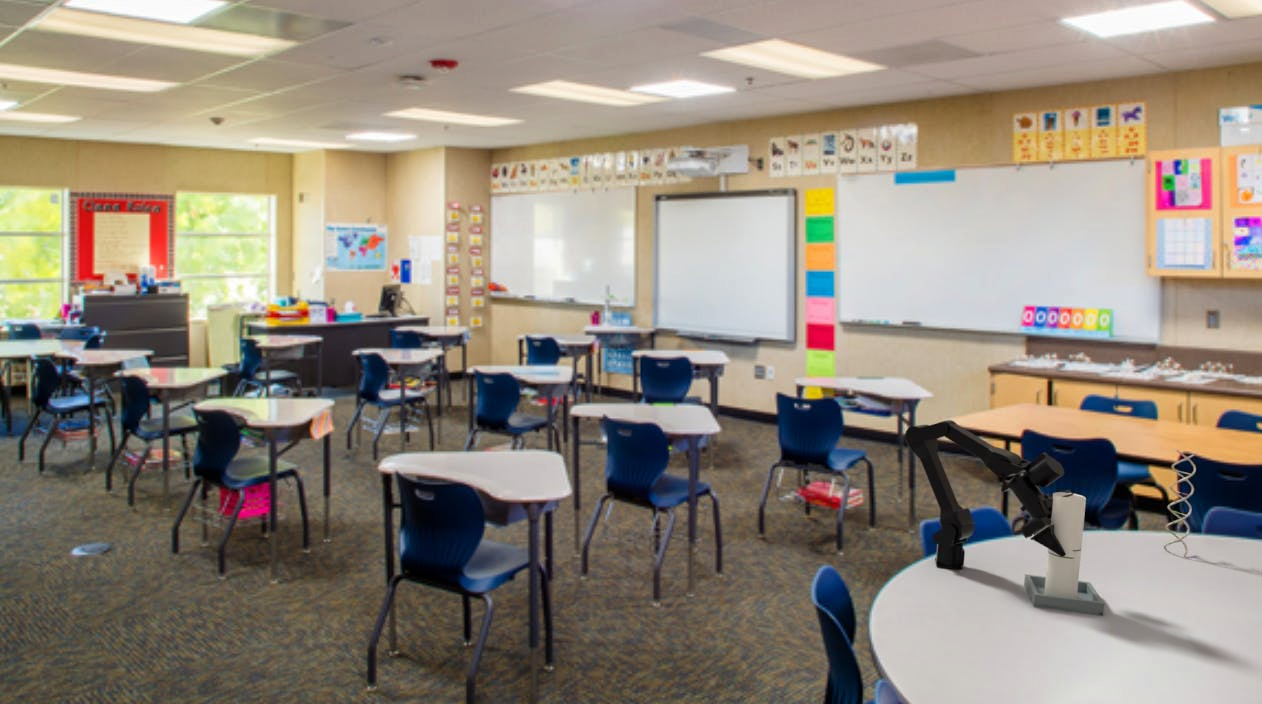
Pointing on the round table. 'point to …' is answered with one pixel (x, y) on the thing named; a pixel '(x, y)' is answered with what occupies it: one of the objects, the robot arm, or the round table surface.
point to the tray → (1084, 603)
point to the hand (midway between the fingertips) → (1071, 552)
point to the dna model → (1180, 501)
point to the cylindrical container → (1065, 545)
